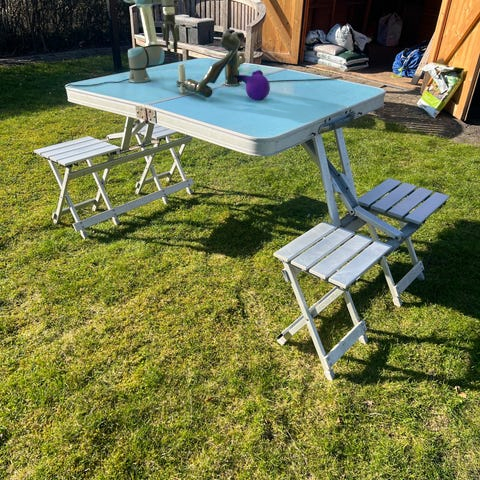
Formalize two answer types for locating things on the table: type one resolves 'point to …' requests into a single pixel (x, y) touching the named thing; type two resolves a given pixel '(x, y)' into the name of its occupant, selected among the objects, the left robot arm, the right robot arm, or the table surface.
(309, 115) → the table surface
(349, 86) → the table surface
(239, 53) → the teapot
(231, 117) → the table surface
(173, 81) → the table surface
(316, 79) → the right robot arm
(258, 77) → the toy
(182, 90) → the pale green cylinder
